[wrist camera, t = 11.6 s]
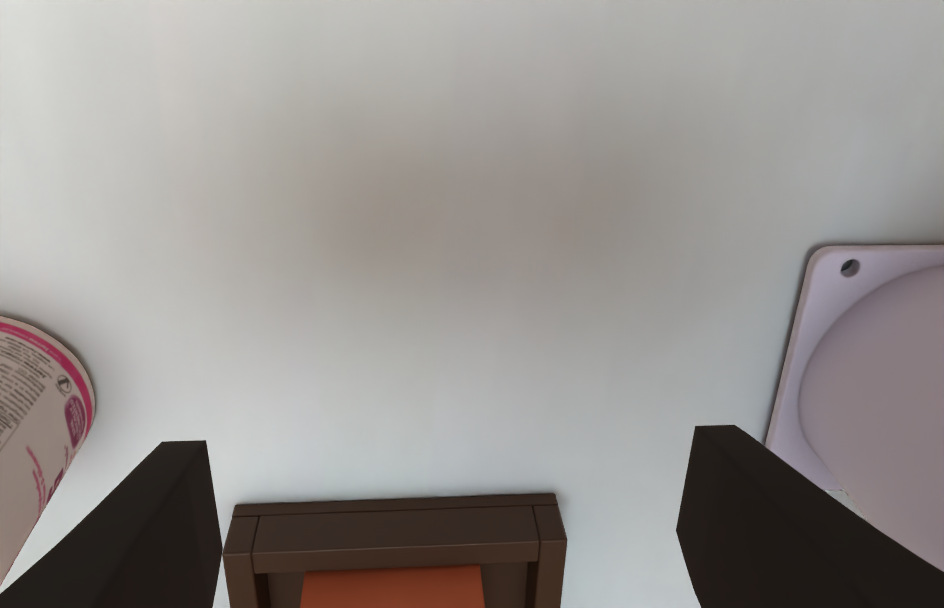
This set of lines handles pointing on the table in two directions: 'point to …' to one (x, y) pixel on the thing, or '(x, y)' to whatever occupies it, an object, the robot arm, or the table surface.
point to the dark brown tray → (398, 545)
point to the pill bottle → (36, 427)
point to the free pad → (395, 587)
